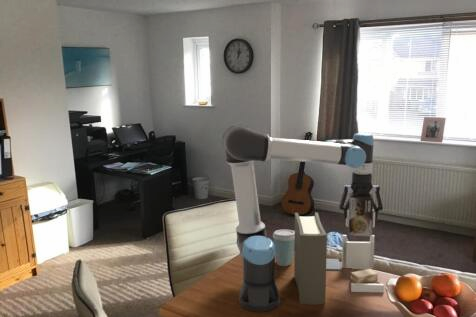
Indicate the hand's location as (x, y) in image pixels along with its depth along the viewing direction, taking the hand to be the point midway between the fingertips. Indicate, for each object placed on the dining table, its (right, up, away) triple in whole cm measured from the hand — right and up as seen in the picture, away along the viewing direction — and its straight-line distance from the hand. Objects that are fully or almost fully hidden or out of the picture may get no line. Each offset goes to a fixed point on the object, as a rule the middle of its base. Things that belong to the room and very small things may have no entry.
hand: (360, 225), depth 167 cm
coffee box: (0, -3, +1) cm, 3 cm away
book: (-22, -24, -7) cm, 33 cm away
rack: (+1, -22, 0) cm, 22 cm away
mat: (-10, -19, +14) cm, 26 cm away
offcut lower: (0, -23, -5) cm, 24 cm away
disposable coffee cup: (-29, -19, +16) cm, 38 cm away
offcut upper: (0, -20, -5) cm, 21 cm away
